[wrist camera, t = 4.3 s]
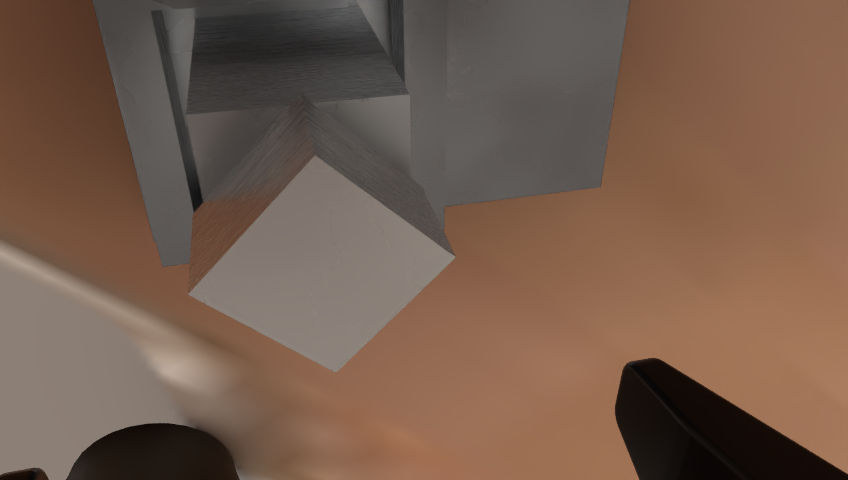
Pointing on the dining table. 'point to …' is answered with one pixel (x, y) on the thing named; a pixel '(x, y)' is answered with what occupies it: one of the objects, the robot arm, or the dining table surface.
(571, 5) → the socket block
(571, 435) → the dining table surface
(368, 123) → the grey block
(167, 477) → the mug
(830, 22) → the dining table surface
